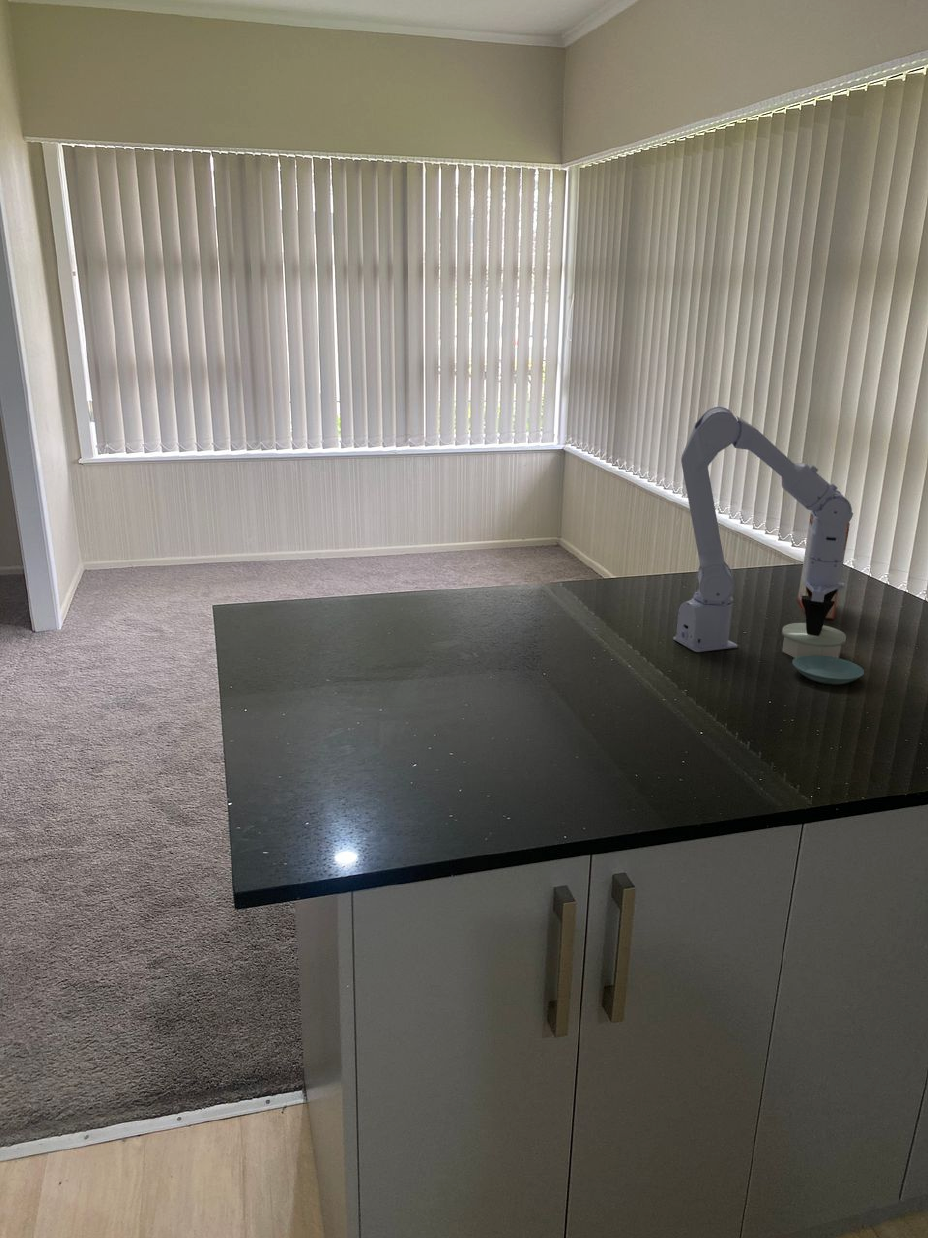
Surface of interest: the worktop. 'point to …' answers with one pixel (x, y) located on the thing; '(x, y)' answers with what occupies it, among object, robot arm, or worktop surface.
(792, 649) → the bowl
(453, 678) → the worktop surface
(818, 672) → the saucer
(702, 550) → the robot arm
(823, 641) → the lid
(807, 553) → the cracker box
